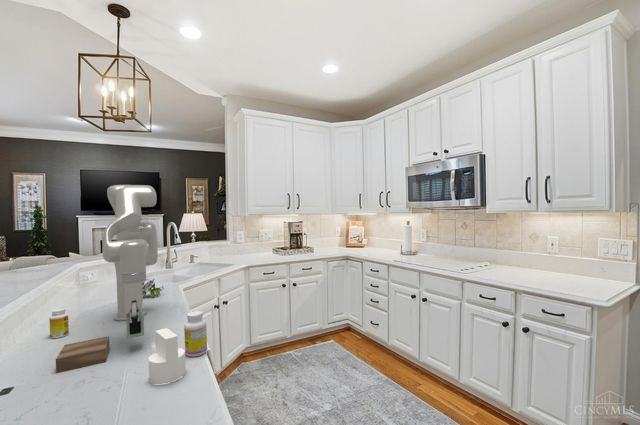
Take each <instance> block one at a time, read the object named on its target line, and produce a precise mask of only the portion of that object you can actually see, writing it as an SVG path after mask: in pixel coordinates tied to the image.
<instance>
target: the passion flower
mask: <svg viewBox="0 0 640 425" xmlns="http://www.w3.org/2000/svg"><path fill="white" fill-rule="evenodd" d="M142 284H143V298H144V297H145V296H146V295H147V293H148V292H149V293H150V297H151V298H152V299H155V296H156V297H158V296H159V295H160V294H161V292H163V290H164V289H165V288H164V285H162V286H160V287H156V282H155V278H152V280H148V281H147V282H146V283H145V282H142ZM161 288H162V289H161ZM158 294H159V295H158Z"/></svg>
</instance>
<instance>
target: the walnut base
mask: <svg viewBox="0 0 640 425" xmlns="http://www.w3.org/2000/svg"><path fill="white" fill-rule="evenodd" d="M110 348H111V347H110V336H109V335H108V336H104V337H98V338H94V339H87V340H83V341H78V342H73V343H69V344H68V343H67V344H64V346H63V347H62V348H61V351H60V352H59V353H58V355H57V356H56V358H55V373H56V374H58V373H62V372H63V373H64V372H67V371H71V370H75V369H80V368H84V367H90V366H92V365H93V366H94V365H98V364H102V363H105V362H107V360H108V356H109V351H110Z"/></svg>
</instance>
